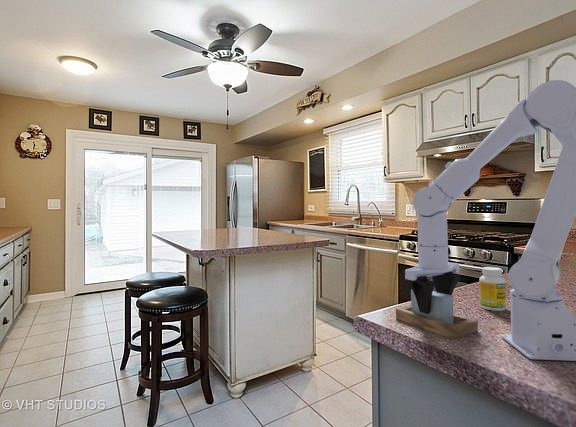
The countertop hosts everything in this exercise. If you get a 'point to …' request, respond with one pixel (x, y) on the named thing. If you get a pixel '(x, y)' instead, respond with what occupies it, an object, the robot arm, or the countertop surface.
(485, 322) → the countertop surface
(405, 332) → the countertop surface
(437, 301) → the grey rectangular block
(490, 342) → the countertop surface
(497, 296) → the supplement bottle
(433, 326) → the wooden tray
